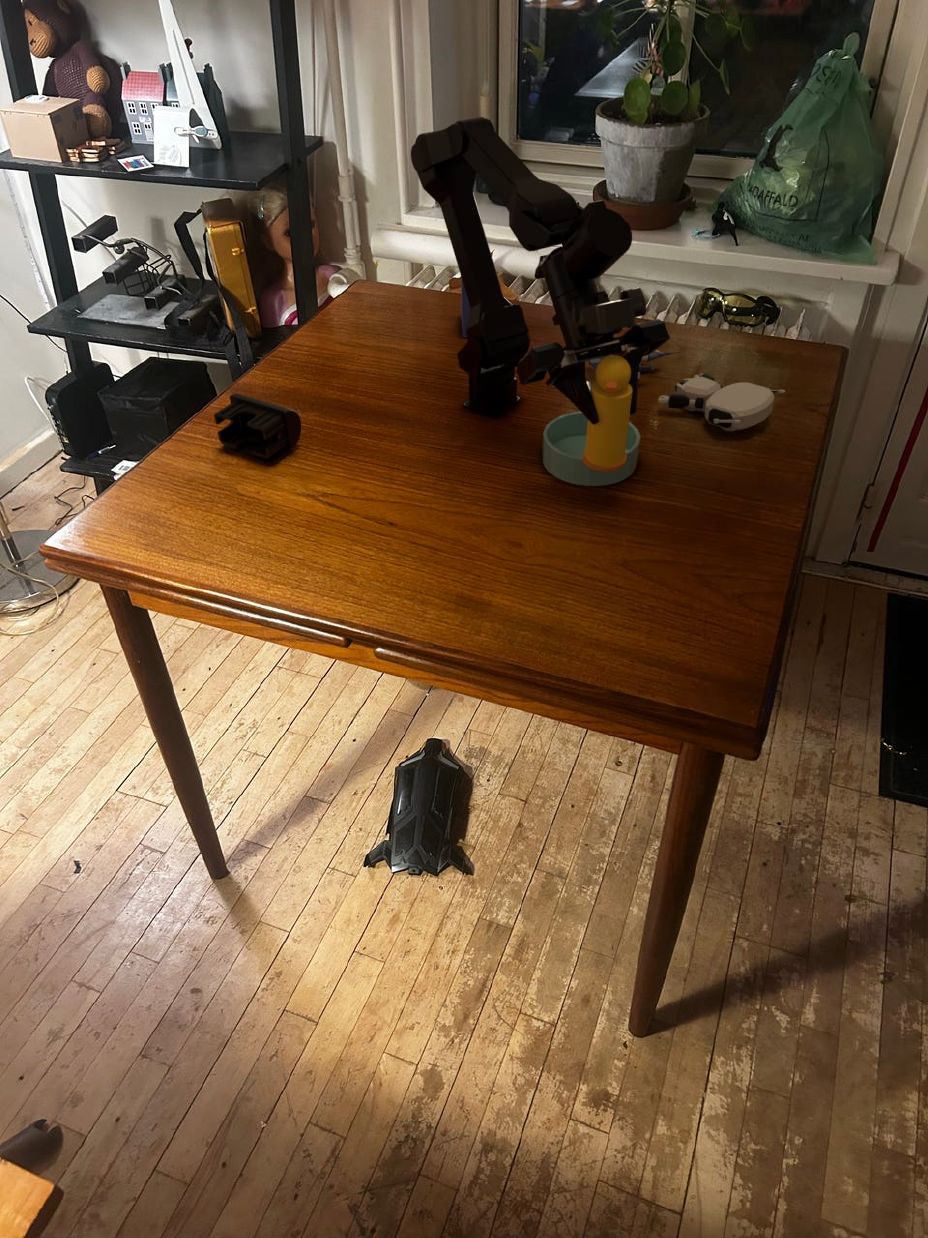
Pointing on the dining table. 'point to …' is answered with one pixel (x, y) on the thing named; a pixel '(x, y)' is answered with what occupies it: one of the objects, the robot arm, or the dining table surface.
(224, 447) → the end cap
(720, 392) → the robot toy
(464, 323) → the walkman
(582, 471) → the pan
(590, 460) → the duck toy
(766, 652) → the dining table surface
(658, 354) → the toy airplane
